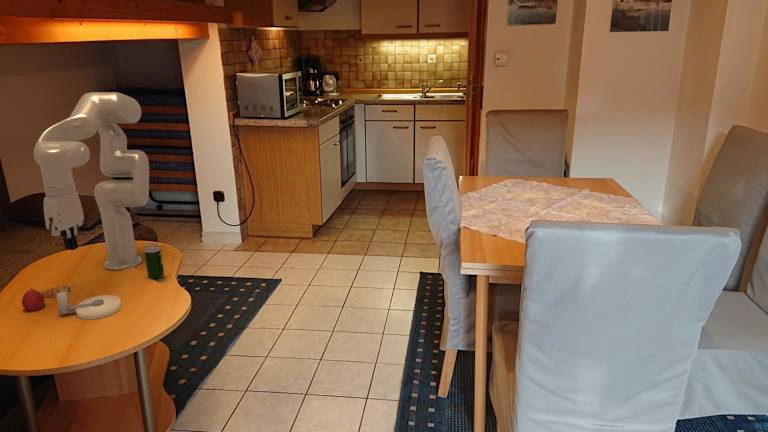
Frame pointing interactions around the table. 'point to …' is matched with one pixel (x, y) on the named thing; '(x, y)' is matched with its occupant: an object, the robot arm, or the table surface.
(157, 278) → the beer can
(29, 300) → the onion
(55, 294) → the pastry
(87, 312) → the dial
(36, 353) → the table surface
